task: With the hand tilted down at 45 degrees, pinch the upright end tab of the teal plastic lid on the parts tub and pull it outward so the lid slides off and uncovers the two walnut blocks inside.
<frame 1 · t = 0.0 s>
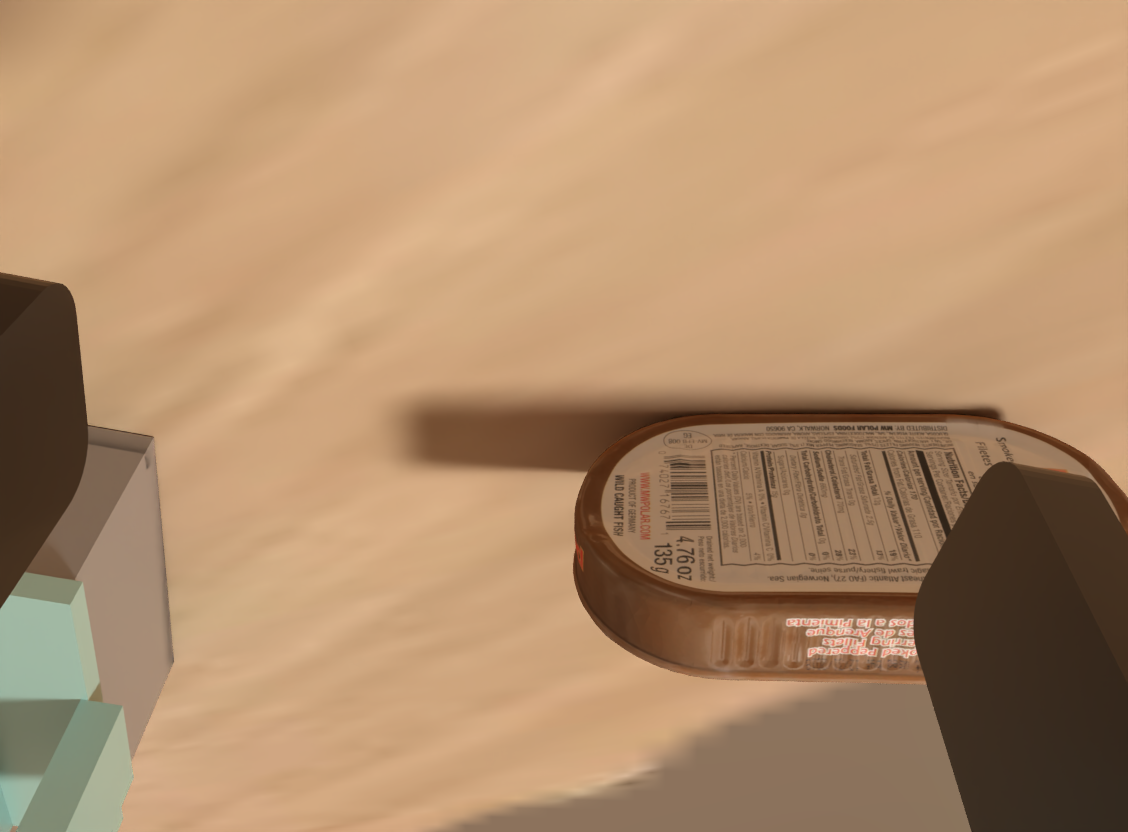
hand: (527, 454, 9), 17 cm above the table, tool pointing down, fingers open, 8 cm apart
tub: (7, 534, 36), on the table
tin: (823, 430, 31), on the table
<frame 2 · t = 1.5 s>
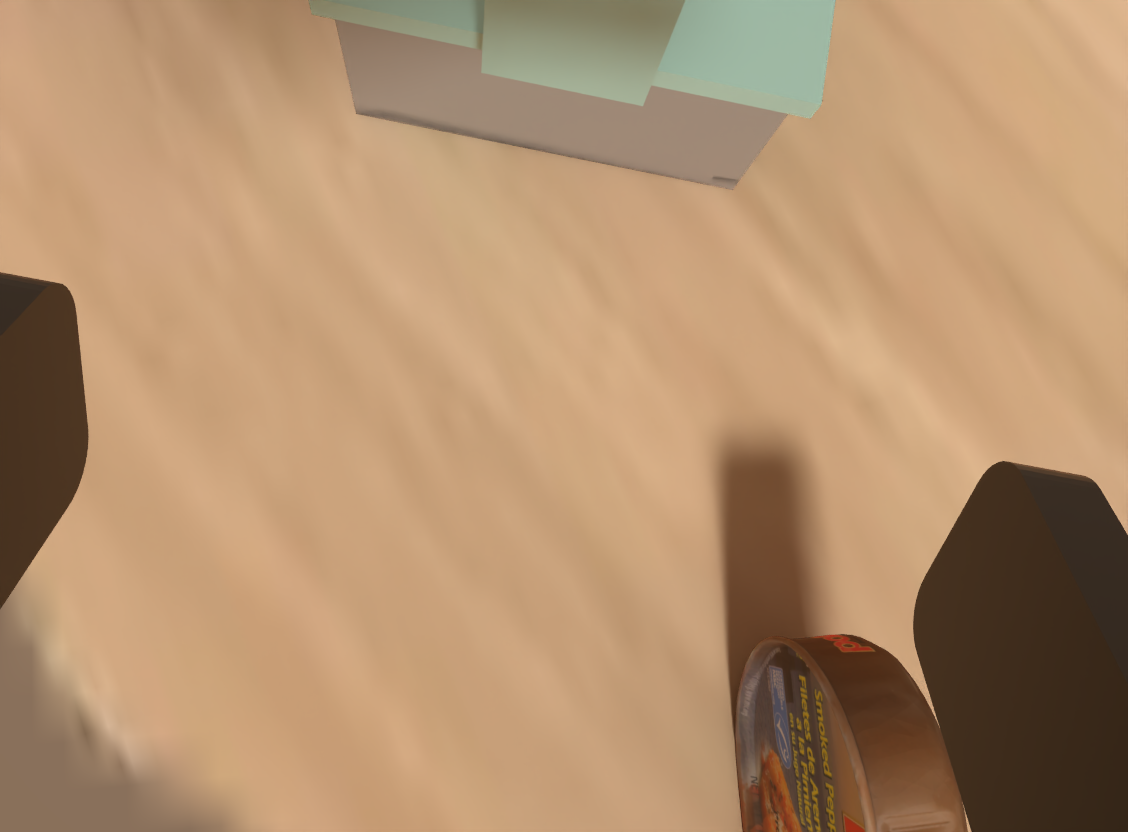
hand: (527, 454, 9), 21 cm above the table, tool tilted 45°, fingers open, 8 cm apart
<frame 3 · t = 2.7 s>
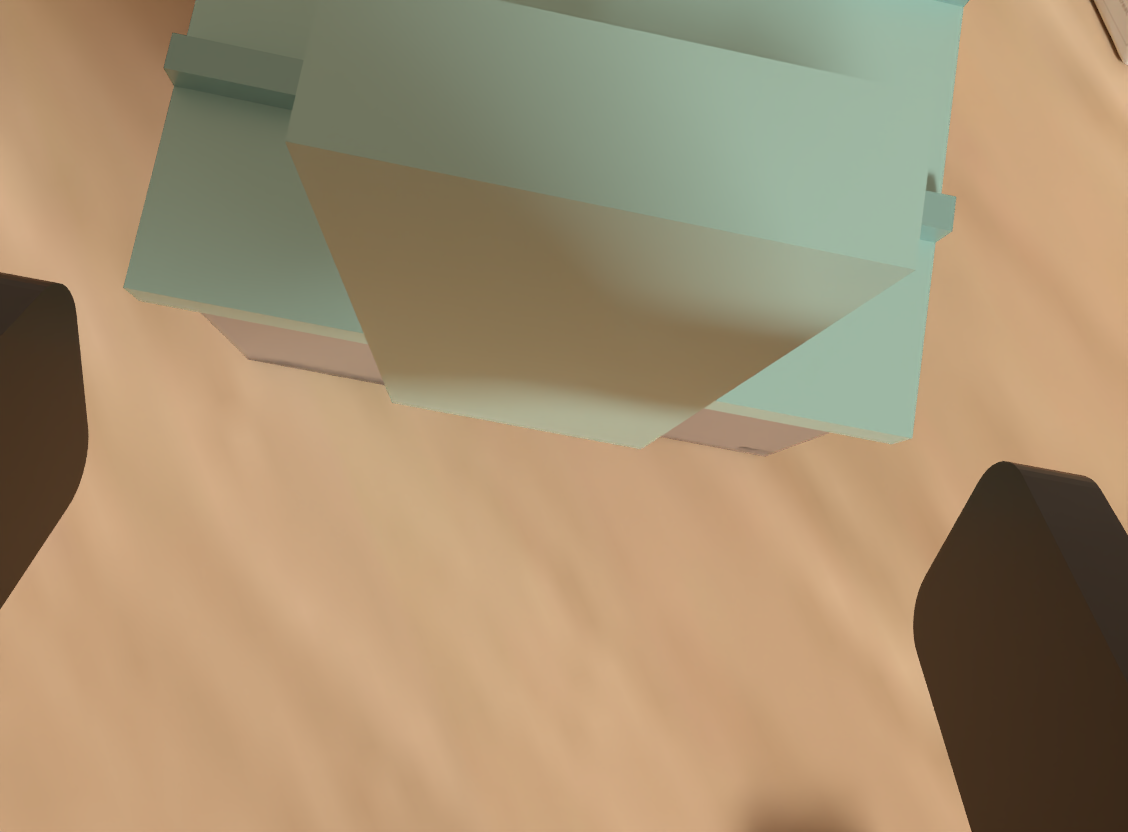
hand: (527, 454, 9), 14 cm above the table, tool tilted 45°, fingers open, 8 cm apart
tub: (552, 183, 24), on the table
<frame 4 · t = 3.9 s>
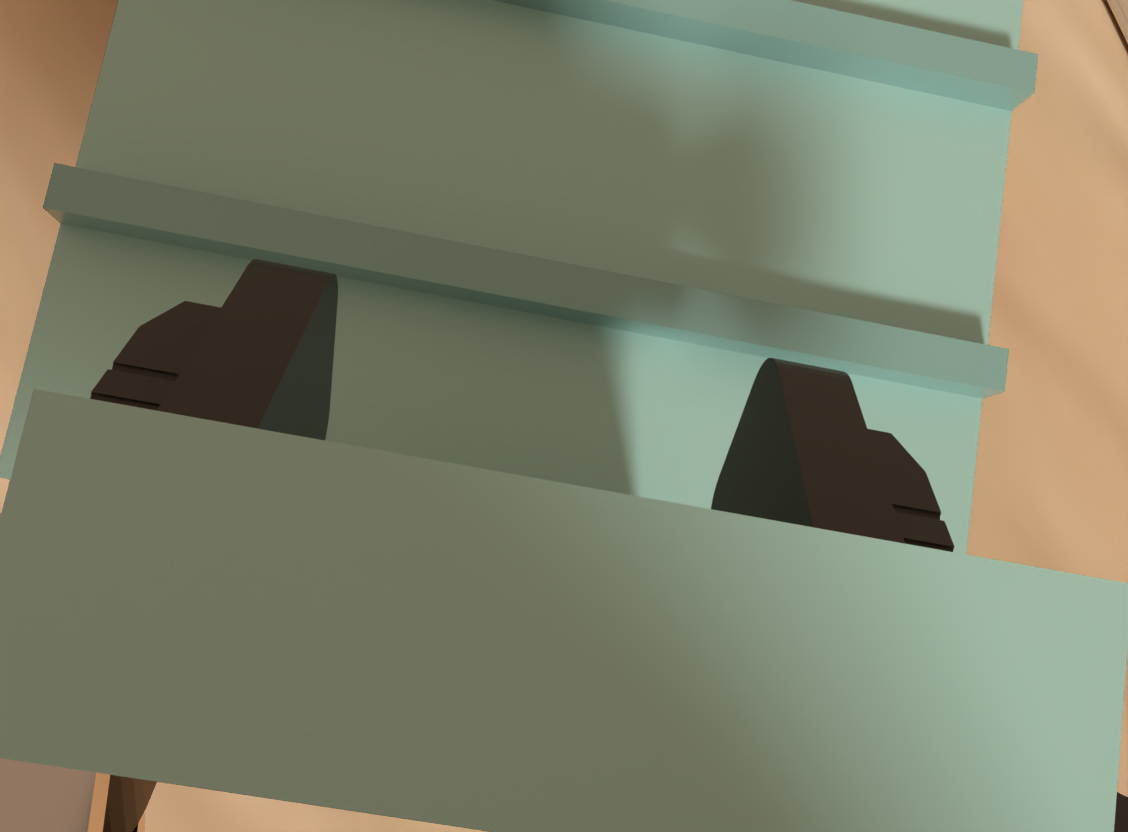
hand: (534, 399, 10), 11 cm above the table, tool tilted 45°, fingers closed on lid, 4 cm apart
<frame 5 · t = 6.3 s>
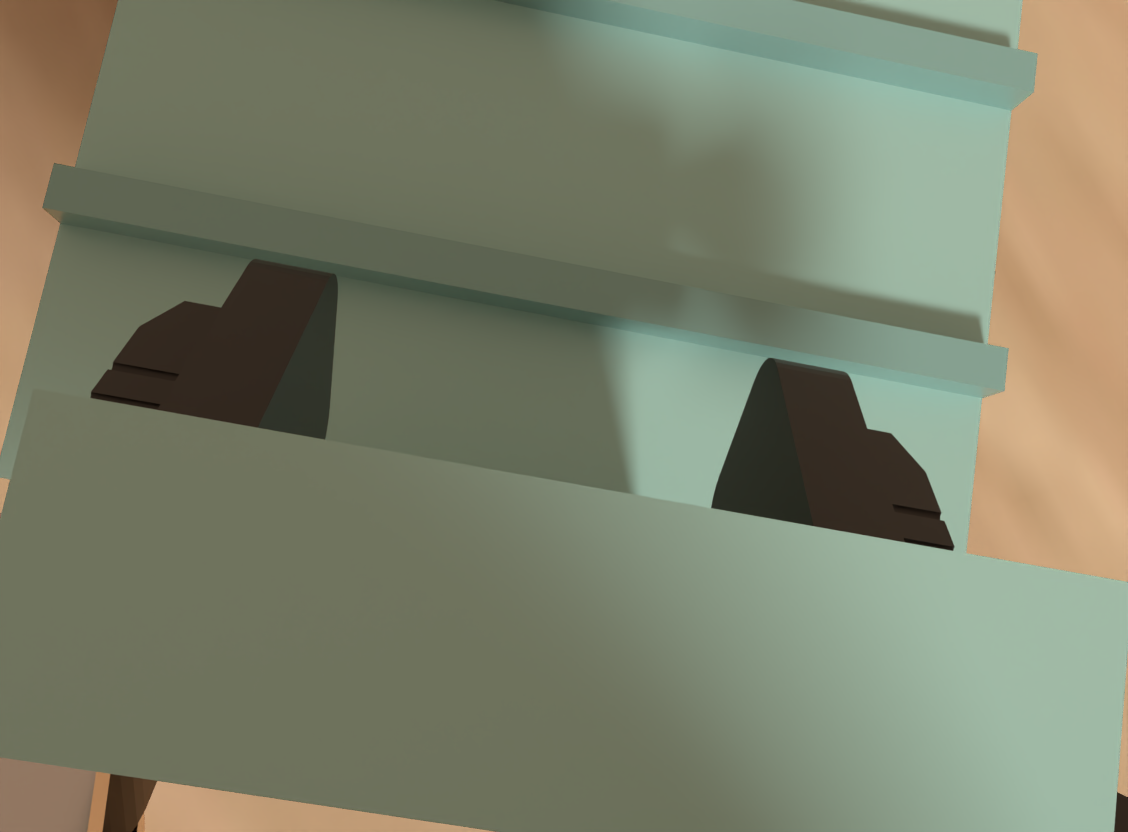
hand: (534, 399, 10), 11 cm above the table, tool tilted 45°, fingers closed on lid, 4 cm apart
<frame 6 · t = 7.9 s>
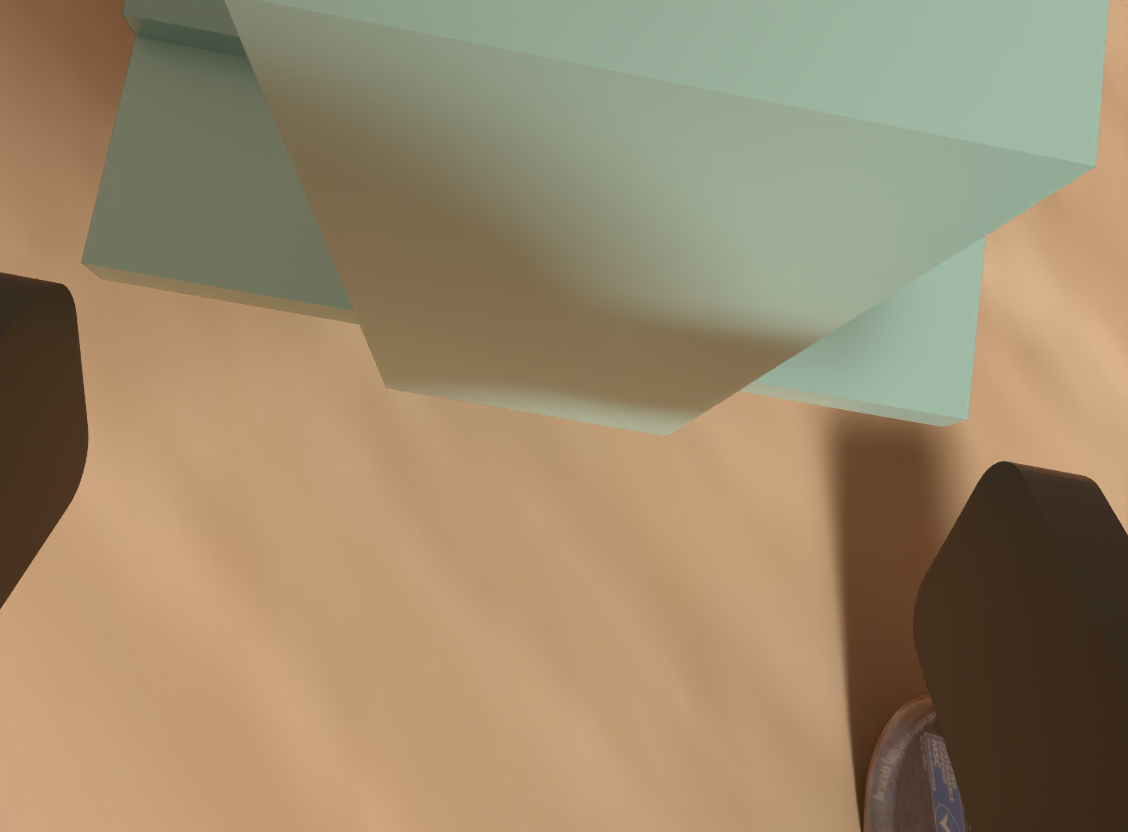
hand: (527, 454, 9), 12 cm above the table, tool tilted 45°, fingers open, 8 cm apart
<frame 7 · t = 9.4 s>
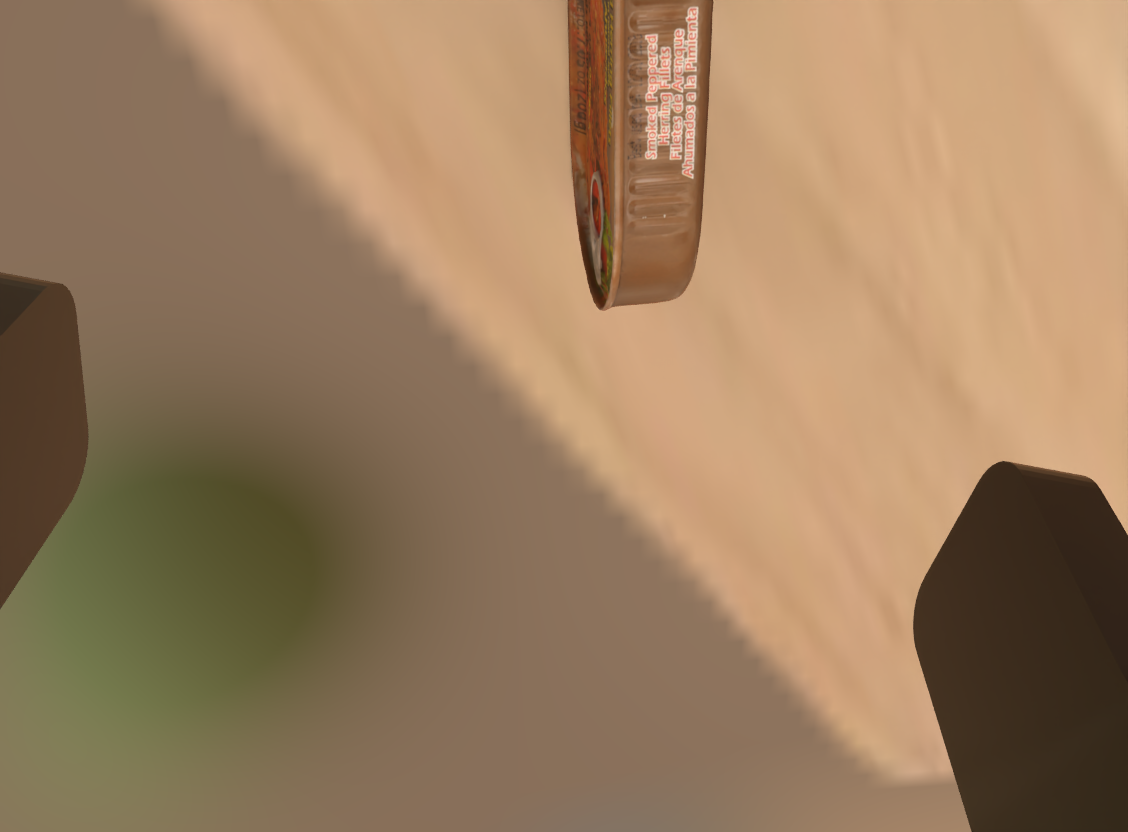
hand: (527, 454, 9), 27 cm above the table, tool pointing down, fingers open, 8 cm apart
tin: (615, 25, 33), on the table
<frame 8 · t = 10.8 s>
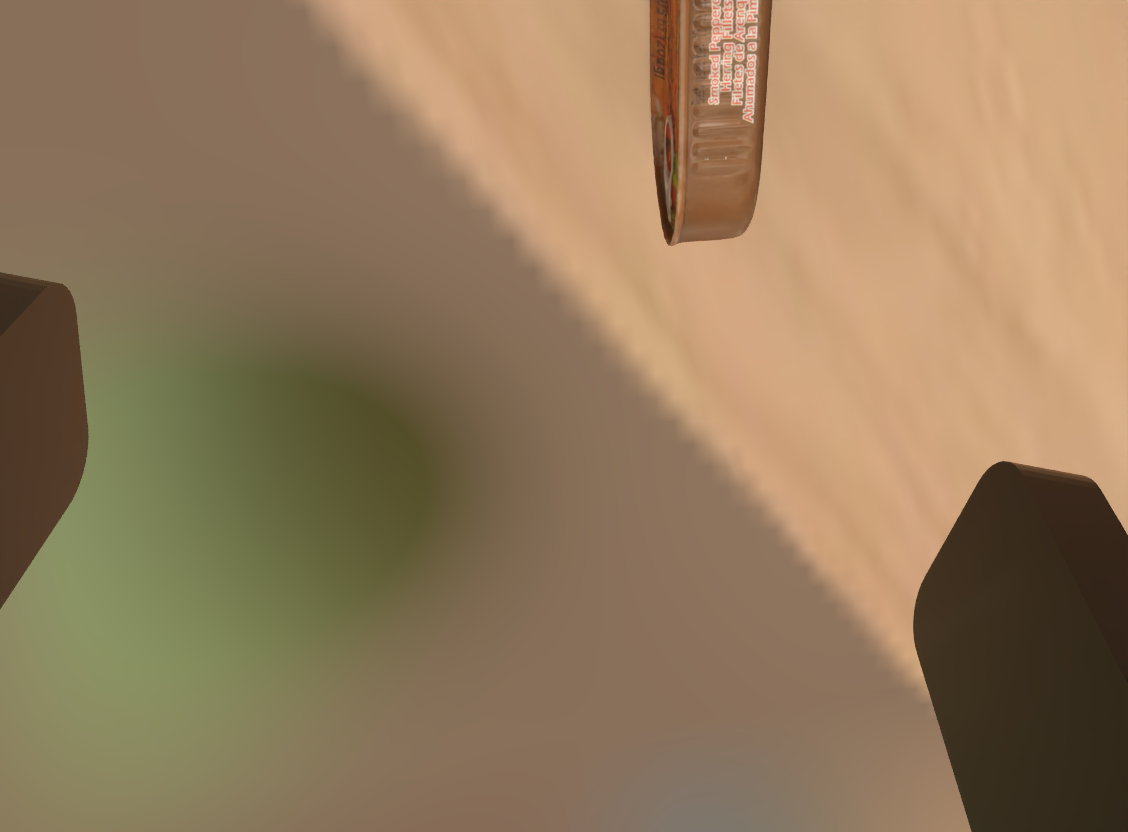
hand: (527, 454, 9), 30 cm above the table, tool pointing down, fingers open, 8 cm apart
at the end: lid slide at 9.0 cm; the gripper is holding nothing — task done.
